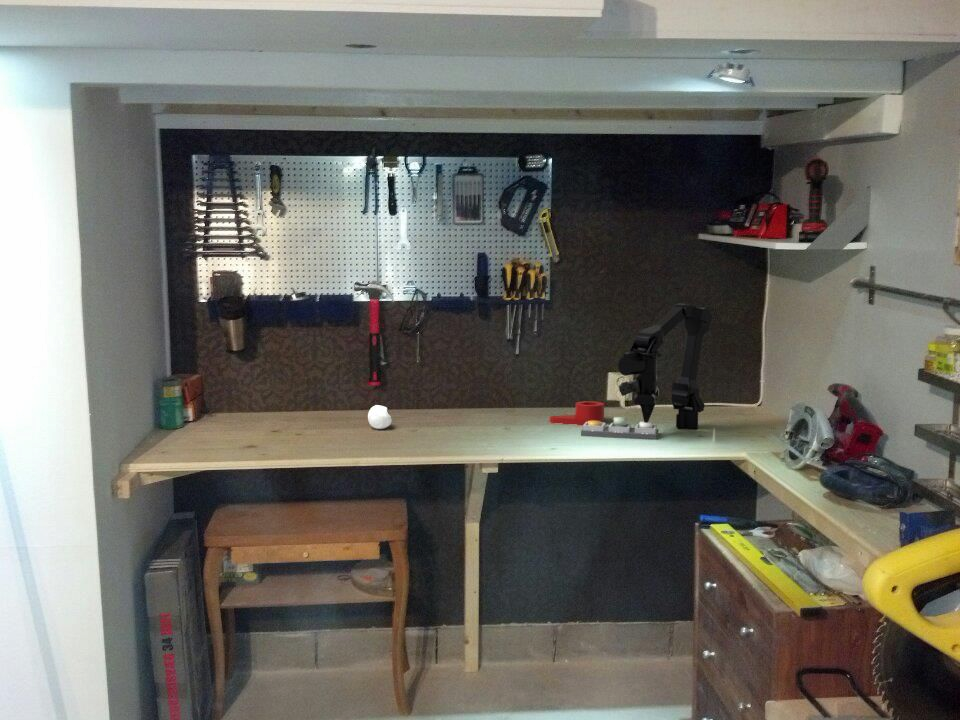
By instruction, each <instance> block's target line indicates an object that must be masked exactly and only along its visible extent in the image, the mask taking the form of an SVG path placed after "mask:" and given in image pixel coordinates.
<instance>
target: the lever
mask: <svg viewBox="0 0 960 720" xmlns="http://www.w3.org/2000/svg"><path fill="white" fill-rule="evenodd" d="M591 420H596V421H601V422H604V423H605V403H604V402H602V401H594V400H593V401H592V400H591V401H589V400H587V401H586V400H584V401H583V400H581V401H578V402H575V414H565V415H564V414H563V415H561V414H560V415H550V416H549V423H550V422H551V423H550V424H554V423H563V424H562V425H568V424H577V425H576V426H583V425H584V424H585V422H588V421H591Z"/></svg>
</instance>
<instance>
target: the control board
mask: <svg viewBox="0 0 960 720" xmlns="http://www.w3.org/2000/svg"><path fill="white" fill-rule="evenodd" d="M580 436H581V437H582V436H583V437H598V438H614V439H615V438H617V439H635V440H650V441H652V440H655V441H656V440H657V438H658V436H659V428H658V424H653V428H639V423H637V424H636V425H635V427H632V424H631V423H627V424H626V425H623V426H619V425H614V422H611V423H610V424H609V426H606V422H605V421H604V422H601V426H593V425H588V422H585V424H584V425H582V429H581V430H580Z"/></svg>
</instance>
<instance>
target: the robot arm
mask: <svg viewBox="0 0 960 720" xmlns="http://www.w3.org/2000/svg"><path fill="white" fill-rule="evenodd" d="M672 307H673V308H672V309H670V310H669V311H668V312H667V313H666V314H665V315H663V316H662V317H661V318H660V319H659V320H658V321H656V323H654V324H653V325H652V326H649V327H645V328H643V329H642V330H640V331H638V332H636V335H635V336H634V337H635V338H633V339H634V340H633V341H632V343H631V345H630V347H629V349H628V352H623V356H622V357H621V358H620V359H619V361H618V363H617V368H618V371H619V373H620V374H621V375H623V376H626V377H627V376H633V375H637V376H635V379H634V380H630V381H625V382H624V381H623V382H621V384H619V385H618V388H619V393H620V395H621V397H623V396H626V395H629V394H631V393H635V395H634V397H633V404H634V405H639V406H640V409H641V412H642V418H643V421H644V422H645V423H648V421H649V422H650V418H651V416H652V413H653V411H654V409H655V406H656V403H657V402H658V398H656V397H659V396H660V389H659V388H658V386H657V379H658V375H657V370H658V358H662V353H660V352H659V349H660V348H661V347H662V345H663V344H664V343H665V338H666V337H667V335H668V334H670V333H671V331H673V330H674V329H676V327H677V326H679V324H681V323H682V322H683V326H684V328H685V331H686V339H685V340H686V341H685V346H684V352H683V358H682V365H681V371H680V377H679V378H678V380H677V381H676V382H674V381H673V383H672V385H671V391H670V395H671V396H670V399H671V402H672V408H673V410H678V412H677V413H676V417H675V423H676V424H675V427H676V429H678V430H686V431H687V430H689V431H691V430H693V431H698V430H699V413H702V412H704V410H705V406H706V404H705V403H704V402H703V400H702V398H701V397H700V387H699V386H698V385H699V384H698V382H697V374H698V369H699V363H700V356H701V352H702V351H701V350H702V345H703V339H704V338H703V337H704V336H705V334H706V333H707V332H708V331H709V330H710V326H711V324H712V320H713V314H712V312H711V310H710V308H708V307H707V308H706V307H696V306H693V305H690V304H688V303H676V304H674V306H672Z"/></svg>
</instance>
